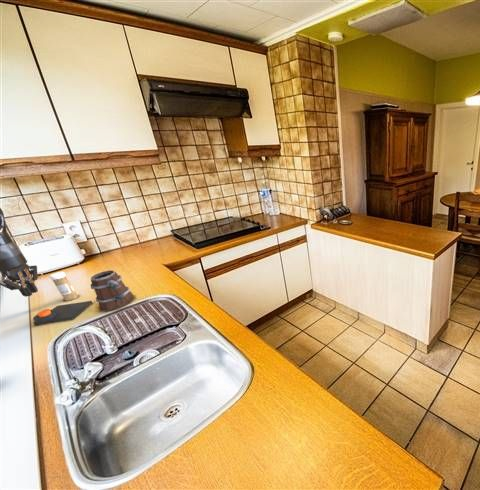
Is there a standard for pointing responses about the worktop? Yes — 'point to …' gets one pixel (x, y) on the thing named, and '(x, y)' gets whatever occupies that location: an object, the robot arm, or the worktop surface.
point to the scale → (62, 313)
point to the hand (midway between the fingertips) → (31, 294)
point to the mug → (110, 290)
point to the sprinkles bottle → (63, 286)
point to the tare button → (44, 313)
